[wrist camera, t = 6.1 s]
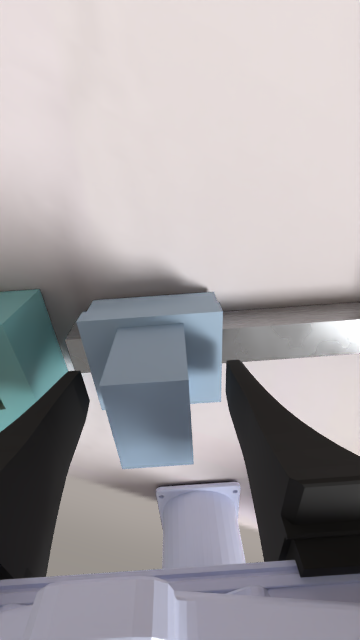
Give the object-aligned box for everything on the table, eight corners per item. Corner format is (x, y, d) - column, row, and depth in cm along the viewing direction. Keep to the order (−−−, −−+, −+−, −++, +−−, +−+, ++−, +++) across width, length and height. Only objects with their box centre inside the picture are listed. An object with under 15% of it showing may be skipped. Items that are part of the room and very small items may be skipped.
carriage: (213, 368, 18) (235, 467, 12) (111, 375, 18) (82, 478, 12) (213, 287, 15) (242, 365, 9) (92, 295, 15) (41, 378, 9)
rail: (398, 347, 18) (436, 376, 16) (89, 368, 18) (76, 401, 16) (427, 278, 16) (477, 299, 13) (70, 302, 16) (50, 329, 13)
